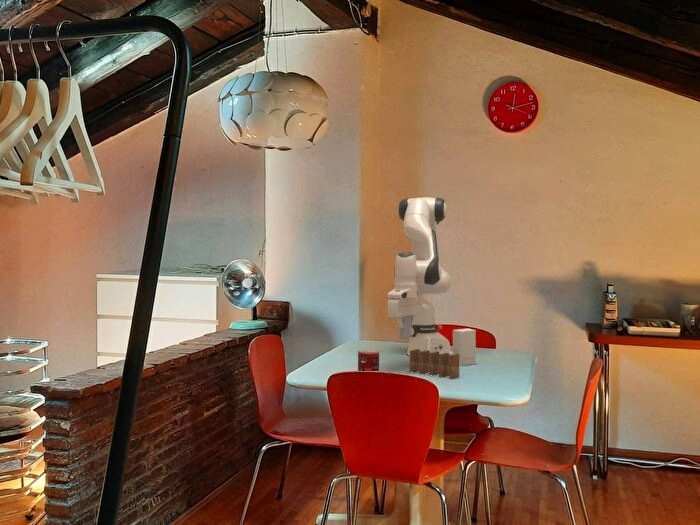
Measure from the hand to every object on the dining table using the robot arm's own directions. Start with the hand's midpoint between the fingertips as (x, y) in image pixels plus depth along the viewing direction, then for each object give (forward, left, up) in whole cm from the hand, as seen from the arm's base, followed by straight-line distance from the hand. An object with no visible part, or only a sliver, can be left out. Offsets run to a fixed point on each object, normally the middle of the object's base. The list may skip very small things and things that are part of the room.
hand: (405, 327), depth 288 cm
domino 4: (-6, +12, -18) cm, 22 cm away
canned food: (+21, +7, -18) cm, 29 cm away
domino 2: (-2, +4, -18) cm, 18 cm away
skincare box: (-30, -2, -18) cm, 35 cm away
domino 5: (-8, +16, -18) cm, 25 cm away
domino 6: (-10, +20, -18) cm, 29 cm away
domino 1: (0, 0, -5) cm, 5 cm away
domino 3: (-4, +8, -18) cm, 20 cm away
